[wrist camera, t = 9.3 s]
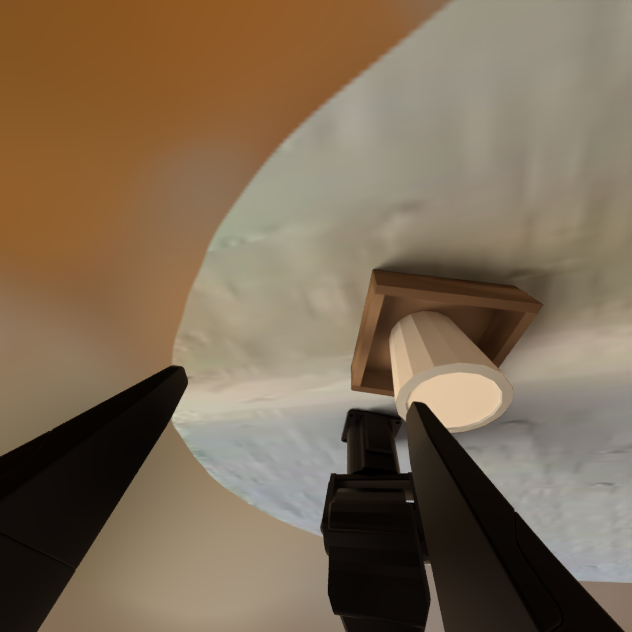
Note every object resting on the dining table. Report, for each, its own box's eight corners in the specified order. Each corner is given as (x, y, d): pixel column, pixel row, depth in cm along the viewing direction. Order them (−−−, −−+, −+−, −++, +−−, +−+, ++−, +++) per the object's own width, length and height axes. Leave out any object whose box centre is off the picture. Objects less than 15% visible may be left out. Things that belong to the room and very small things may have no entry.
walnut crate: (456, 382, 23) (470, 407, 21) (351, 367, 24) (351, 390, 21) (515, 286, 17) (543, 304, 15) (372, 269, 18) (376, 284, 16)
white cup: (381, 307, 19) (396, 366, 13) (470, 300, 18) (531, 361, 12) (382, 366, 23) (394, 434, 17) (457, 364, 21) (498, 436, 15)
